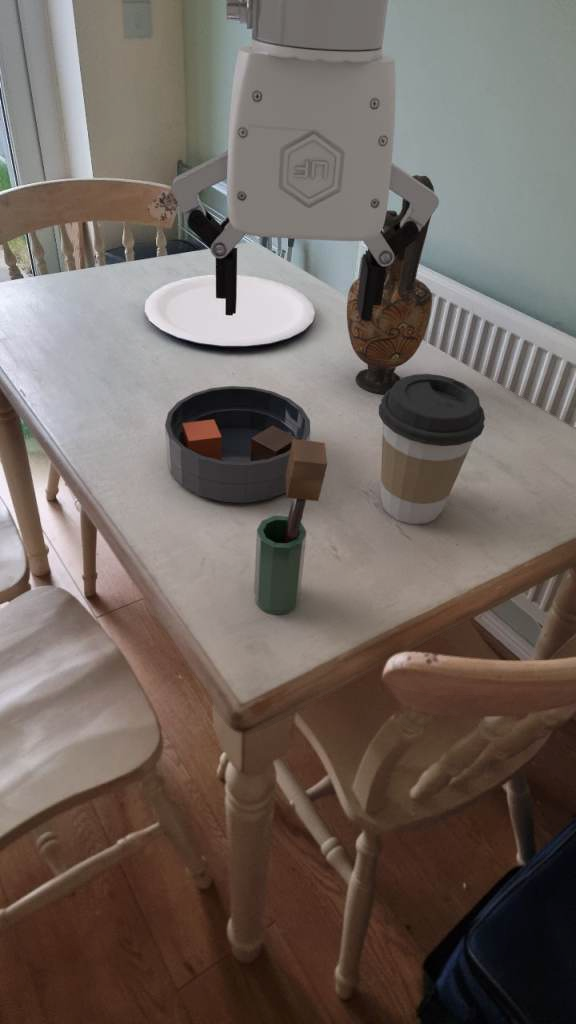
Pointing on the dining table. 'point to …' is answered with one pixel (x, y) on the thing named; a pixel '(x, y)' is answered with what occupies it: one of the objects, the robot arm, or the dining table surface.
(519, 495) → the dining table surface
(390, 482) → the coffee cup
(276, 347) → the dining table surface
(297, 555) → the holder
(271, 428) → the walnut block
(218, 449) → the terracotta block
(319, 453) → the wooden cube mallet
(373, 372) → the vase
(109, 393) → the dining table surface
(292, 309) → the plate
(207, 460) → the bowl
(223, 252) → the robot arm
